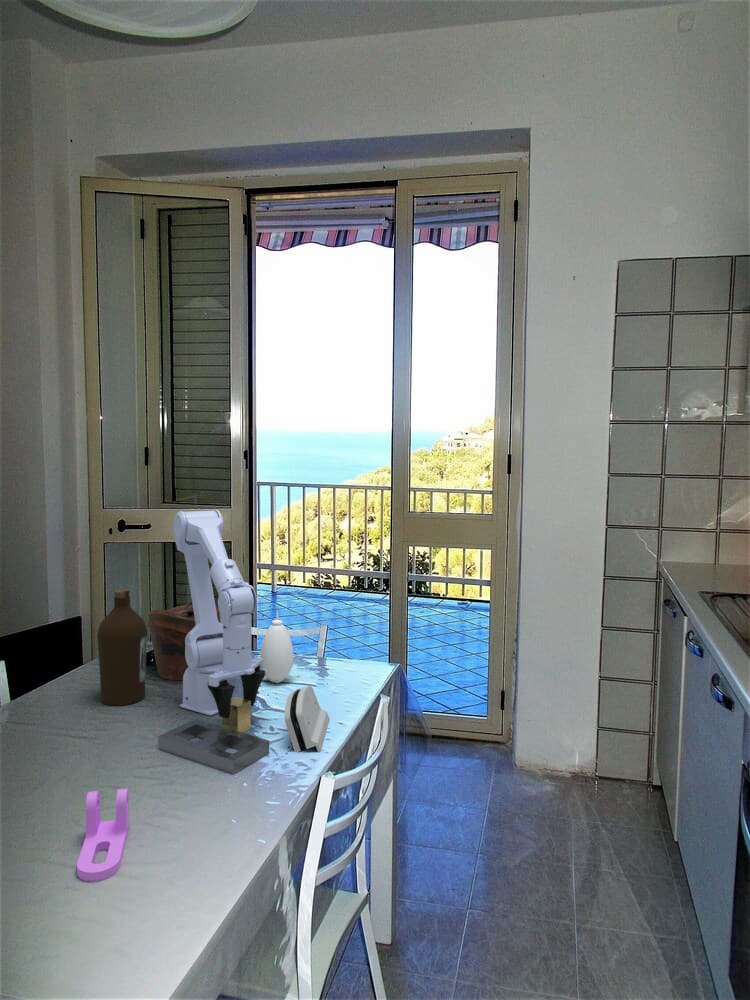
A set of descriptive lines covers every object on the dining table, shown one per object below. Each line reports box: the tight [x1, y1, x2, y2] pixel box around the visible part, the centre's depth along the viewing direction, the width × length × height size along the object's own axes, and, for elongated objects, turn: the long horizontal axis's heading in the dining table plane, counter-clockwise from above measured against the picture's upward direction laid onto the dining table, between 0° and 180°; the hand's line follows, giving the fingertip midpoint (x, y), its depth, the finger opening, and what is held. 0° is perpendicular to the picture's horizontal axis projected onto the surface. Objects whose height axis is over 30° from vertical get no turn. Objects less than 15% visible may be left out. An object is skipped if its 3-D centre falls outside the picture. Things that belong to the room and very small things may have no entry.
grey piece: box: [284, 686, 331, 753], centre depth 142 cm, size 17×5×10 cm, turn 178°
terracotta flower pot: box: [147, 601, 221, 681], centre depth 178 cm, size 18×20×18 cm
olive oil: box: [96, 588, 148, 707], centre depth 158 cm, size 11×11×25 cm
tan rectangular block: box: [222, 696, 252, 733], centre depth 143 cm, size 4×4×6 cm
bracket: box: [76, 788, 130, 882], centre depth 100 cm, size 13×6×7 cm, turn 13°
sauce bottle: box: [259, 610, 294, 684], centre depth 171 cm, size 8×8×18 cm
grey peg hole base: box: [157, 718, 270, 775], centre depth 133 cm, size 19×10×2 cm, turn 60°
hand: (237, 710), depth 143 cm, fingers open, 7 cm apart
